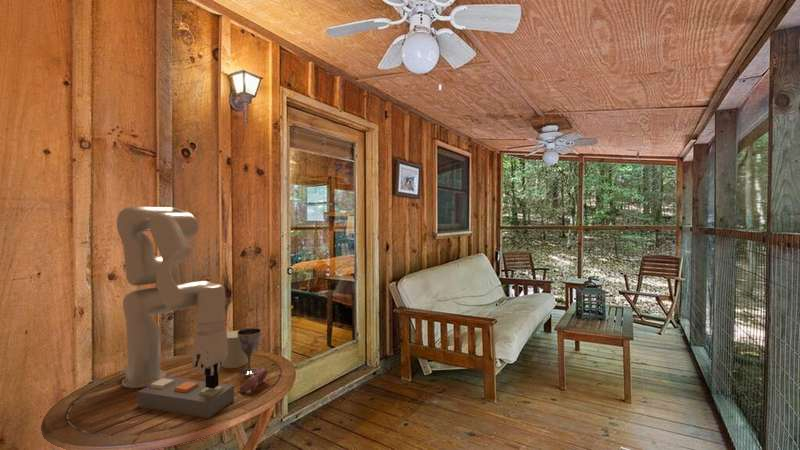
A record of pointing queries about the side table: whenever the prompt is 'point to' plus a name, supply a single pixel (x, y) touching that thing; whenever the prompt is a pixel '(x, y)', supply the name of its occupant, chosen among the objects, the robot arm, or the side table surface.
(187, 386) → the button orange
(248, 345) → the wine glass
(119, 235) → the robot arm
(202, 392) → the button sage
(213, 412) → the button panel
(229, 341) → the can
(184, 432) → the side table surface
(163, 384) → the button cream
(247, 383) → the video game controller
